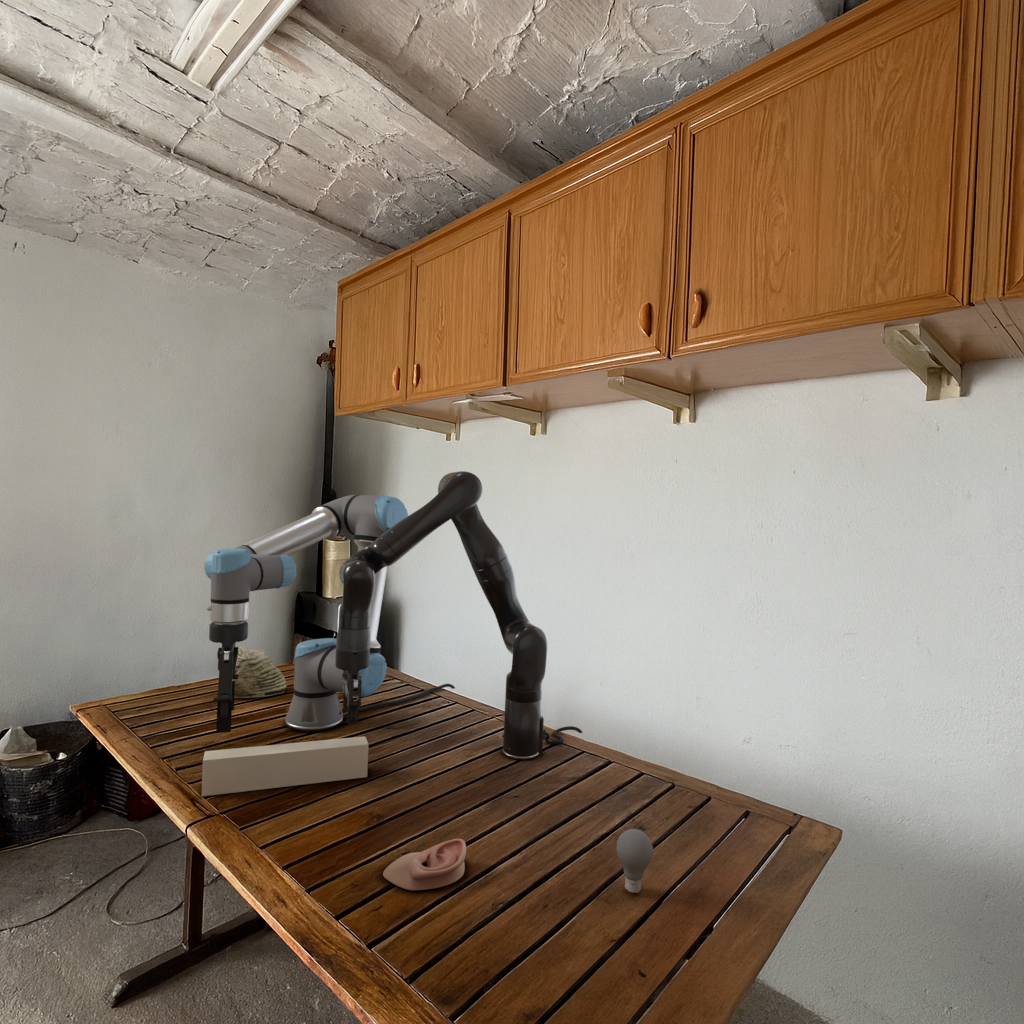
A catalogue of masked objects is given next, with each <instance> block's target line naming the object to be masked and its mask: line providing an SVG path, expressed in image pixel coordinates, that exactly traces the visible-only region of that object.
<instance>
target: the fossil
mask: <svg viewBox="0 0 1024 1024" xmlns="http://www.w3.org/2000/svg"><path fill="white" fill-rule="evenodd" d="M237 647H238V658H237V662H236V669H235V671H236V673H235V674H238V679H234V680H235V697H234V699H250V698H264V697H271V696H275V695H281V694H284V693H285V691H286V689H287V687H288V686H287V680H286V678H285V676H284V674H283V673H282V672H281V669H279V668H278V667H277V665H276V663H275V662H274V660H273V659H272V658H271V657H270V656H269V655H268V654H267V653H266V652H265V650H264V649H263V648H260V647H258V648H251V647H247V646H246V647H245V646H237ZM232 681H233V680H232Z"/></svg>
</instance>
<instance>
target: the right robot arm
mask: <svg viewBox="0 0 1024 1024" xmlns="http://www.w3.org/2000/svg"><path fill="white" fill-rule="evenodd" d="M482 495H483V484H482V481H481V479H480V478H479V477H478V476H477V475H476V474H474V473H473V472H470V471H465V470H464V471H463V470H460V471H453V472H449V473H447V474H445V475H444V476H442V478H441V479H440V480H439V482H438V487H437V494H436V495H435V496H434V497H433V498H432V499H430V500H429V501H428V502H426V503H425V504H424V505H423V506H422V507H420V508H419V509H417V510H416V511H414V512H412V513H410V514H408V516H407V517H406V518H404V519H402V520H401V521H399V522H398V523H396V524H395V525H393V526H392V527H391V528H390V529H388V530H387V531H386V532H385V533H383V534H382V535H381V536H379V537H378V538H377V539H376V540H375V541H374V542H373V543H371V544H370V545H368V546H367V547H365V548H363V549H362V550H360V551H358V550H357V552H355V553H354V554H353V555H351V556H350V557H348V558H347V559H346V560H345V561H344V562H342V564H341V565H340V567H339V571H338V577H339V580H340V582H341V583H342V585H343V587H342V602H341V603H340V605H339V610H338V627H337V633H336V639H337V642H336V663H335V665H336V667H337V668H338V669H341V670H343V674H342V689H343V691H342V693H341V694H342V695H343V697H342V698H343V699H342V709H343V711H348V712H347V717H346V722H347V724H349V725H356V724H357V723H358V722H359V721H358V720H359V712H358V708H361V706H362V697H361V684H362V677H361V676H360V673H359V671H360V670H361V669H366V668H367V667H368V666H369V660H370V639H371V636H370V616H371V611H370V607H371V602H372V597H373V591H374V584H375V574H376V573H377V572H379V571H380V570H381V569H383V568H384V567H386V566H388V567H390V566H392V565H394V564H395V563H397V562H398V561H399V560H400V559H402V558H403V557H404V556H405V555H406V554H408V553H409V552H410V551H411V550H413V549H414V548H415V547H416V546H417V545H418V544H420V543H421V542H422V541H424V540H425V538H427V537H428V536H429V535H430V534H432V533H433V532H434V531H436V530H437V529H438V528H440V527H441V526H443V525H445V524H446V523H447V522H449V521H450V520H451V522H452V524H453V525H454V528H455V529H456V531H457V533H458V536H459V538H460V540H461V543H462V546H463V549H464V551H465V553H466V556H467V558H468V561H469V563H470V566H471V568H472V570H473V573H474V575H475V577H476V579H477V582H478V584H479V586H480V588H481V590H482V592H483V594H484V596H485V598H486V599H487V603H489V606H490V607H491V610H492V611H493V613H494V616H495V619H496V621H497V625H498V628H499V632H500V634H501V637H502V641H503V644H504V646H505V648H506V650H507V651H508V652H509V653H510V654H511V655H512V660H511V670H510V671H509V672H507V674H506V677H505V695H504V698H505V699H504V718H503V719H504V720H503V733H502V739H503V741H502V754H503V755H504V756H506V757H508V758H510V759H514V760H521V761H525V760H531V759H535V758H537V757H538V756H539V755H543V747H544V746H543V743H544V742H545V743H546V744H549V745H559V744H562V743H563V742H564V738H563V736H561V735H559V733H561V732H564V731H575V732H578V733H579V734H583V731H582V730H581V728H579V727H578V726H572V725H571V726H570V725H569V726H568V725H567V726H563V727H559V728H557V729H555V730H554V731H552V736H553V737H554V738H555V739H556V740H550V738H551V737H550V736H551V735H550V733H549V732H547V730H546V729H545V728H544V723H545V722H544V721H545V718H544V716H543V715H542V691H543V682H544V678H545V676H546V671H547V660H548V659H547V658H548V638H547V635H546V633H545V631H544V630H543V629H542V628H540V627H539V626H537V625H535V624H533V623H532V622H531V621H530V620H529V618H528V617H527V614H526V612H525V611H524V608H523V607H522V605H521V602H520V599H519V595H518V588H517V580H516V576H515V571H514V568H513V566H512V563H511V561H510V559H509V557H508V555H507V552H506V550H505V549H504V547H503V545H502V543H501V542H500V540H499V539H498V537H497V536H496V535H495V534H494V533H493V531H492V529H491V528H490V527H489V526H488V525H487V523H486V522H485V520H484V518H483V516H482V514H481V512H480V511H481V510H480V509H479V506H478V503H479V501H480V500H481V498H482ZM354 698H355V700H354Z"/></svg>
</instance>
